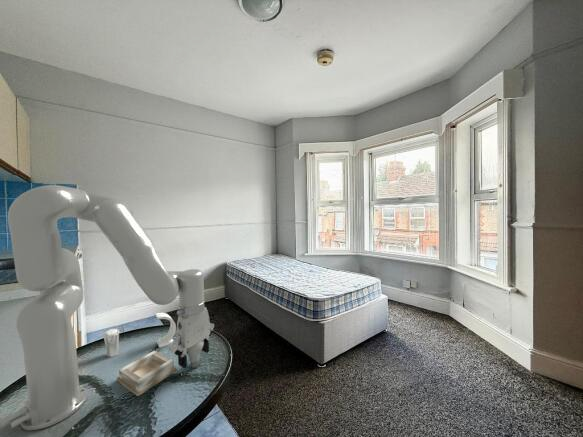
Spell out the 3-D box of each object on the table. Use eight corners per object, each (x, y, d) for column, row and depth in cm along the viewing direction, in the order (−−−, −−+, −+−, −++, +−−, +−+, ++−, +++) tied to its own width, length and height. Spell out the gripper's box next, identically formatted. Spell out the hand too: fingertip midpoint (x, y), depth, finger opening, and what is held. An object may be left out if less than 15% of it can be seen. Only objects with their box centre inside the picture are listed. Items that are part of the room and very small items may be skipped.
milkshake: (114, 359, 84) (112, 332, 83) (101, 357, 85) (99, 330, 84) (125, 351, 88) (123, 325, 87) (113, 349, 89) (111, 324, 88)
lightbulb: (197, 374, 75) (196, 341, 75) (180, 372, 77) (179, 339, 76) (208, 362, 81) (207, 331, 81) (192, 359, 83) (191, 329, 82)
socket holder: (137, 396, 67) (137, 384, 67) (116, 381, 73) (116, 370, 73) (176, 370, 78) (176, 360, 77) (155, 358, 84) (154, 349, 83)
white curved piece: (156, 342, 93) (155, 313, 92) (173, 336, 97) (171, 308, 96) (159, 348, 90) (158, 317, 89) (176, 341, 94) (175, 312, 93)
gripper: (175, 322, 68) (177, 379, 69) (220, 300, 83) (222, 347, 85) (159, 316, 72) (162, 370, 73) (206, 296, 87) (207, 341, 88)
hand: (194, 358), depth 79 cm, fingers open, 8 cm apart
